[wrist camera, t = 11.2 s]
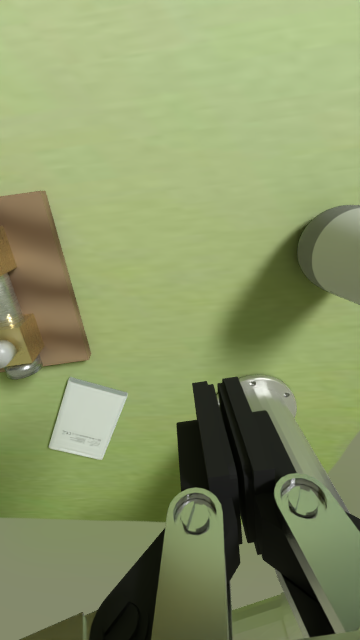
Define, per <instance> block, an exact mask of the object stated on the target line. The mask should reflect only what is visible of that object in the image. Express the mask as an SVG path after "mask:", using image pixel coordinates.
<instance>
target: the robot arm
mask: <svg viewBox="0 0 360 640" xmlns="http://www.w3.org/2000/svg"><path fill="white" fill-rule="evenodd" d="M192 385H193V393H194V400H195V408H196V415H197V420H192V421H185V422H178V423H177V438H178V452H179V467H180V481H181V492H180V493H179V494H178V495H177V496H175V497H174V499H173V500H172V502H171V503H170V505H169V509H168V512H167V519H166V527H165V529H164V530H163V531H162V532H161V533H160V535H159V536H158V537H157V538H156V539H155V541H154V542H153V543H152V544H151V545H150V546H149V548H148V549H147V550H146V551H145V552H144V554H143V555H142V556H141V557H140V558H139V560H138V561H137V562H136V563H135V565H134V566H133V567H132V568H131V569H130V570H129V571H128V573H127V574H126V575H125V576H124V577H123V579H122V580H121V581H120V582H119V583H118V585H117V586H116V587H115V588H114V589H113V590H112V592H111V593H110V594H109V595H108V596H107V598H106V599H105V600H104V601H103V603H102V604H101V606H100V607H99V609H98V610H96V611H94V612H92V613H89V614H87V615H85V616H84V614H83V612H81V613H79V614H77V615H75V616H72V617H70V618H68V619H66V620H63V621H61V622H58V623H56V624H54V625H52V626H49V627H47V628H45V629H43V630H40V631H38V632H36V633H33V634H31V635H29V636H26V637H24V638H22V639H20V640H360V519H359V518H357V517H355V516H353V515H351V514H350V513H349V511H348V509H347V508H346V506H345V504H344V503H343V501H342V499H341V497H340V496H339V494H338V492H337V491H336V489H335V487H334V486H333V484H332V482H331V480H330V479H329V477H328V475H327V473H326V472H325V470H324V468H323V466H322V465H321V463H320V461H319V460H318V458H317V456H316V454H315V453H314V451H313V449H312V448H311V446H310V444H309V442H308V441H307V439H306V437H305V436H304V434H303V432H302V430H301V429H300V427H299V425H298V424H297V422H296V420H295V415H296V410H297V406H296V400H295V397H294V395H293V393H292V392H291V390H290V389H289V388H288V386H287V385H286V384H285V383H283V382H282V381H281V380H279V379H276V378H274V377H271V376H267V375H250V376H245V377H242V378H239V379H238V377H232V378H225V379H222V383H218V394H217V396H216V393H215V389H214V385H213V384H211V385H208V384H207V381H204V382H197V383H192ZM240 515H241V518H240ZM241 519H242V523H243V527H244V531H245V535H246V539H247V542H248V543H252V542H254V544H255V548H256V551H257V554H258V555H259V554H262V558H263V560H264V561H265V562H267V563H268V564H270V565H271V566H272V567H273V568H275V571H276V574H277V578H278V580H279V582H280V584H281V587H282V589H283V591H284V592H282V593H281V594H280V595H277V596H274V597H271V598H268V599H265V600H262V601H259V602H256V603H254V604H250V605H247V606H244V607H241V608H238V609H235V610H232V605H231V587H230V580H231V578H232V576H233V574H234V573H235V571H236V569H237V568H238V566H239V564H240V554H239V544H242V532H241Z"/></svg>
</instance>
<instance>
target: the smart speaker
mask: <svg viewBox="0 0 360 640" xmlns="http://www.w3.org/2000/svg"><path fill="white" fill-rule="evenodd" d="M297 256H298V262H299V265H300V267H301V269H302V271H303V273H304V274H305V276H306V277H307V278H308V279H309V280H310V281H311V282H312V283H314V284H315V285H316V286H318V287H320V288H322V289H323V290H325V291H327V292H330V293H332V294H334V295H337V296H339V297H342V298H344V299H347V300H349V301H352V302H354V303H357V304H359V305H360V206H359V205H343V206H338V207H334V208H331V209H328V210H326V211H324V212H322V213H321V214H319V215H318V216H316V217H315V218H314V219H313V220H312V221H311V222H310V223H309V224H308V225H307V226H306V228H305V229H304V231H303V233H302V235H301V237H300V240H299V243H298V249H297Z"/></svg>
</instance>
